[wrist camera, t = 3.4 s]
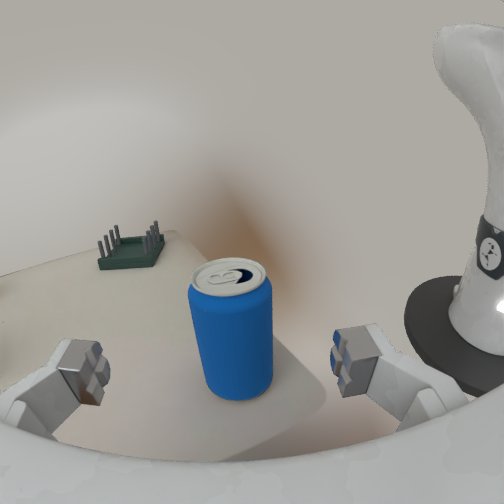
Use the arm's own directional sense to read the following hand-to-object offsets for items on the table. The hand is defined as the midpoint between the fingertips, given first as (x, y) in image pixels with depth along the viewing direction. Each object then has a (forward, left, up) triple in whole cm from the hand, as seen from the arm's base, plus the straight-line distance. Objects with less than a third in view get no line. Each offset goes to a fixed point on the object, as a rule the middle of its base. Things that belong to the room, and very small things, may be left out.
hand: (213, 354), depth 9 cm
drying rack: (+20, -45, -16) cm, 51 cm away
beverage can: (0, -12, -16) cm, 20 cm away
